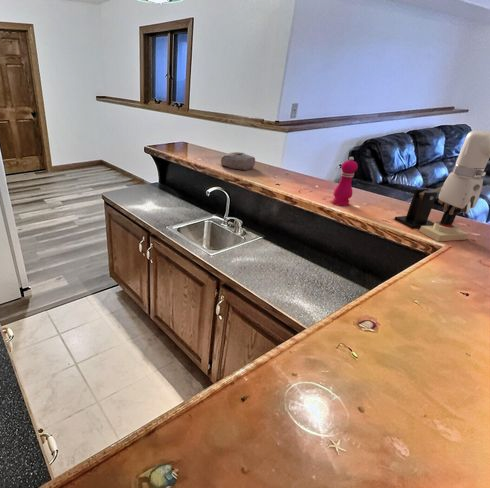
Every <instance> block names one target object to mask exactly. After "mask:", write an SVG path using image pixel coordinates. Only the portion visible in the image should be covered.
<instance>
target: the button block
mask: <svg viewBox="0 0 490 488" xmlns="http://www.w3.org/2000/svg"><path fill="white" fill-rule="evenodd" d="M440 222H441V220H440V221H439V220H437V221H434V222H433V223H434V225H431V226H421V228H419V231H418V232H419V233H421V234H423V235H424V236H427V237H429V238H431V239H432V240H435V241H436V242H449V241H462V240H463V241H464V240H465V241H466V240H467V239H468V236H469V233H468V232H466V231H463V230H461V229H459V226H458V225H456V224H454V223H452V225H453V227H451V228H450V227H444V226H441V225H440Z"/></svg>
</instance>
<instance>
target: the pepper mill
mask: <svg viewBox="0 0 490 488" xmlns="http://www.w3.org/2000/svg"><path fill="white" fill-rule="evenodd" d="M358 168H359V166H358V163H357V161H355V158H354V156H350V157H348V160H345V161H343V162H342V163H341V167H340V169H341V172H340V176H341V177H340V180H339V183H338V184H337V185H336V187H335V188H334V190H333V196H334V197H333V199H332V204H334V205H336V206H341V207H343V206H344V207H345V206H349V203H350V199H351V198H352V197H353V187H352V179H353V178H354V177H355V172H356V171H357V170H358Z"/></svg>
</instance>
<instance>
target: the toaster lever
mask: <svg viewBox="0 0 490 488" xmlns="http://www.w3.org/2000/svg"><path fill="white" fill-rule="evenodd" d="M442 186H443V185H442ZM442 186H439V187H437V188H434V189H432V190H428V191H427V190H425V191H423V192H420V193H419V199H421V200H422V198H423V195H424V193H425V192H437V193H440V191H441V189H442Z"/></svg>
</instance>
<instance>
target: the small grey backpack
mask: <svg viewBox="0 0 490 488" xmlns="http://www.w3.org/2000/svg"><path fill="white" fill-rule="evenodd" d="M219 159H220V165H221V166H224V167H226V168H229V169H233V170H242V171H250V170H252V169H253V168H254V166H255V165H256V157H254V156H252V155H250V154H246V153H245V152H238V151H235V152H226V153H224V154H223V155H221V157H220V158H219Z"/></svg>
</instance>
